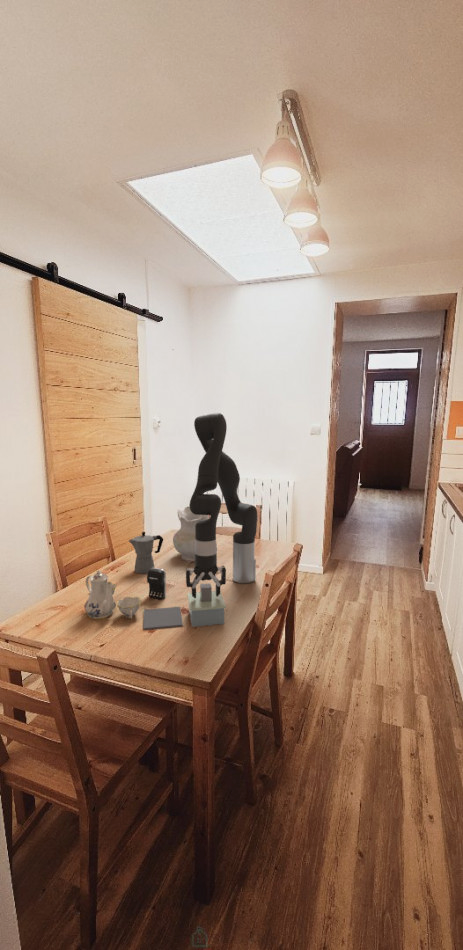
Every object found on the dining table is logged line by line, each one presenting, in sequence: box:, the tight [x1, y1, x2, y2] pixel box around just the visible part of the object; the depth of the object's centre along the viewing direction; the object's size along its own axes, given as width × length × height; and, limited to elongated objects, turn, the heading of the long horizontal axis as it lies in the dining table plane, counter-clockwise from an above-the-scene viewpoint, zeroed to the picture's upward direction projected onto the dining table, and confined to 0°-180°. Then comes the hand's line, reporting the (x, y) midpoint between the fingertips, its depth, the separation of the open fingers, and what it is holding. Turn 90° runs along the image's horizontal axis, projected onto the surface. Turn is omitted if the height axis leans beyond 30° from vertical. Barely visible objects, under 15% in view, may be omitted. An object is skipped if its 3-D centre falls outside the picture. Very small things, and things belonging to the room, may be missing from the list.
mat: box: [142, 606, 184, 631], centre depth 145 cm, size 13×13×1 cm
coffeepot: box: [128, 531, 164, 575], centre depth 187 cm, size 15×9×18 cm, turn 113°
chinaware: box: [84, 569, 142, 620], centre depth 150 cm, size 28×17×17 cm, turn 50°
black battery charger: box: [146, 567, 167, 600], centre depth 160 cm, size 7×4×11 cm, turn 70°
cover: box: [186, 583, 227, 611], centre depth 144 cm, size 12×12×6 cm
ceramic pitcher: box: [172, 506, 210, 562], centre depth 203 cm, size 22×20×25 cm
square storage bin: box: [188, 607, 225, 628], centre depth 145 cm, size 11×11×6 cm
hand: (205, 596), depth 144 cm, fingers open, 7 cm apart
